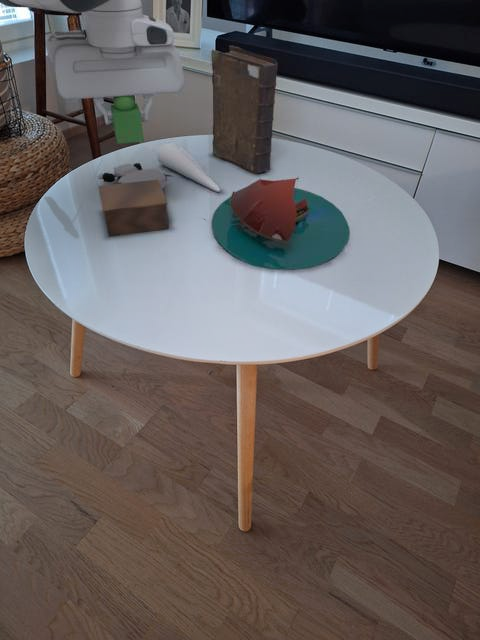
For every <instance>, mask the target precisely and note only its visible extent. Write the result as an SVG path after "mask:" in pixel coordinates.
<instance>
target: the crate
mask: <svg viewBox="0 0 480 640" xmlns="http://www.w3.org/2000/svg"><path fill="white" fill-rule="evenodd" d="M97 188H98V193H99V198H100V204H101V210H102V213H104V219H105V225H106V230H107V235H108V237H118V236H124V235H125V236H126V235H132V234H140V233H148V232H156V231H163V230H169V218H168V205H169V202H168V200H167V198H166V195H165V193H164V189H162V187H161V185H160V182H159V180H149V181H139V182H130V183H120V184H118V183H113V184H111V183H110V184H103V185H98V186H97Z"/></svg>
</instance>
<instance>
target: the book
mask: <svg viewBox="0 0 480 640" xmlns="http://www.w3.org/2000/svg"><path fill="white" fill-rule="evenodd" d="M210 53H211V71H212V76H211V83H212V119H213V120H212V135H213V136H212V137H213V138H212V155H213V156H215V157H217V158H218V159H221V160H224V161H227V162H229V163H231V164H233V165H236V166H238V167H240V168H242V169H244V170H245V171H246V172H247V171H248V172H249V173H251V174H259V173H264V172H267V171H269V170H271V155H272V154H271V153H272V139H273V123H274V120H275V119H274V111H275V109H274V108H275V103H276V101H275V98H276V97H275V96H276V86H277V76H278V74H277V73H278V64H279V63H278V62H277V60H276V59H275V58H272V57H268V56H265V55H262V54H258V53H255V52H251V51H249V50H245V49H243V48H241V47H239V46H234V45H229V47H228V52H222V51H218V50H215V49H211V52H210Z"/></svg>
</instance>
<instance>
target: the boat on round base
mask: <svg viewBox="0 0 480 640" xmlns="http://www.w3.org/2000/svg"><path fill="white" fill-rule="evenodd" d="M299 179H300V177H296V178H288V179H278V180H269V179H261V178H259V179H257V180H255V181H254V182H252V183H251V184H249V185H246V186H245V187H243V188H240V189H238V190H237V191H235V190H234V191H232V193H231V195H230V196H229V197H228V198H227V199H225V200H223V201H222V202H221V203H220V204H219V205H218V207H216V209H215V210H214V212H213V215H212V217H211V229H212V232H213V236H214V238H215V239H216V240H217V242H218V244H220V246H221V247H222V248H223V249H225V250H226V251H227V252H228V253H229V254H230V255H232V256H233V257H235V258H237V259H238V260H241V261H242V262H244V263H247V264H250V265H253V266H256V267H261V268H264V269H265V268H266V269H271V270H272V269H274V270H287V271H288V270H300V269H302V270H303V269H309V268H312V267H315V266H319V265H322V264H325V263H326V262H328V261H330V260H331V259H333V258H335V257H337V256H338V255H339V254H340V253H341V252H342V250H343V249H344V248H346V247H345V246H346V245H347V243H348V242H349V239H350V235H351V234H350V233H351V231H350V226H349V223H348V220H347V219H346V217H345V215H344V214H343V211H341V210H340V208H338V207H337V206H336V205H335V204H334V203H333V202H331V201H329V200H328V199H326V198H325V197H324V196H321V195H318V194H316V193H313V192H312V191H308V190H306V189H305V190H304V189H301V188H297V187H298V186H296V184H298V182H299V181H298V180H299ZM296 181H297V183H296Z"/></svg>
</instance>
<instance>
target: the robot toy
mask: <svg viewBox="0 0 480 640" xmlns="http://www.w3.org/2000/svg"><path fill="white" fill-rule="evenodd" d="M174 176H175V175H174V174H166V173H164V172H162V171H160V170H158V169H156V168H144V169H143V167H142V165H141V163H140V162H136V163H133V164H131V163H124V164H120V165H118V166H114V167H113V173H110V172H104V173H100V174H99V175H97V179H98V180H103V182H104V183H110V184H111V183H114V182H116V183H117V184H120V183H130V182H139V181H149V180H159V182H160V185H161V187H162V190H164V188H166V186H167V182H168V177H171V178H173V177H174Z"/></svg>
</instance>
